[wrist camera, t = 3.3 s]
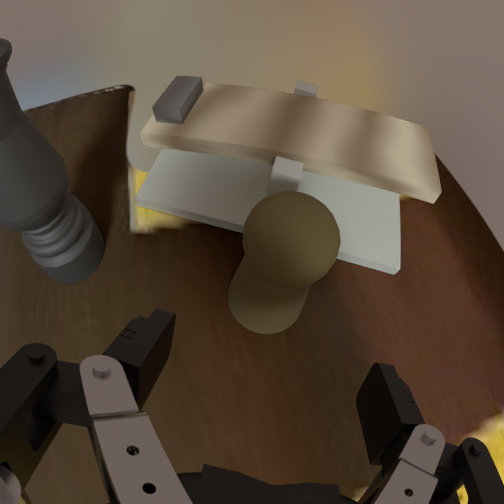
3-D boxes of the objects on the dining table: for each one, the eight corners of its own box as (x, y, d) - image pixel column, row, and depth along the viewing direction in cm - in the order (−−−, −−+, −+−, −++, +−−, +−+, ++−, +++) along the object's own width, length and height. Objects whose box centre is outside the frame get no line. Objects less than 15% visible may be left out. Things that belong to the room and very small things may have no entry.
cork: (237, 254, 27) (251, 162, 17) (308, 271, 27) (358, 190, 17) (218, 323, 24) (222, 260, 14) (296, 341, 24) (353, 291, 14)
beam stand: (392, 166, 34) (420, 119, 27) (393, 274, 27) (439, 232, 21) (190, 111, 34) (190, 56, 28) (137, 205, 28) (120, 146, 21)
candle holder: (103, 215, 27) (17, -70, 5) (106, 277, 24) (-43, -48, 2) (45, 228, 26) (-76, -15, 4) (42, 289, 23) (-143, 39, 1)
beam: (420, 145, 27) (434, 115, 23) (429, 209, 23) (450, 178, 20) (180, 99, 29) (175, 67, 26) (145, 152, 26) (135, 117, 22)
